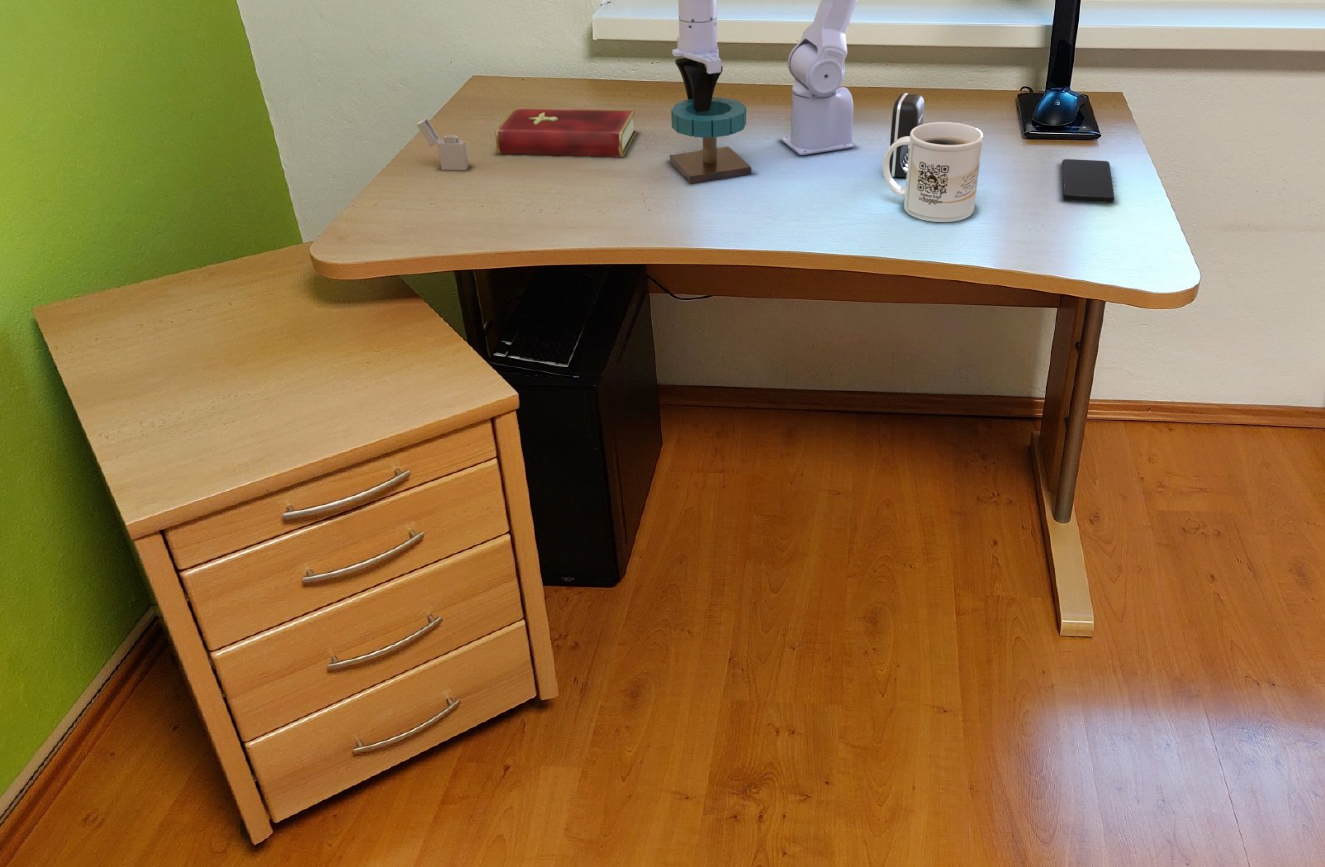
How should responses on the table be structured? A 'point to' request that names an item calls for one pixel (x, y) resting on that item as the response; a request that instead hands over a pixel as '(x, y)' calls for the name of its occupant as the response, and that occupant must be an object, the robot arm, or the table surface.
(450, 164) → the lighter
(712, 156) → the stand
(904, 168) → the battery charger
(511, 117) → the hardcover book
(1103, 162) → the smartphone
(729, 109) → the ring
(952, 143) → the mug
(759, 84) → the table surface
